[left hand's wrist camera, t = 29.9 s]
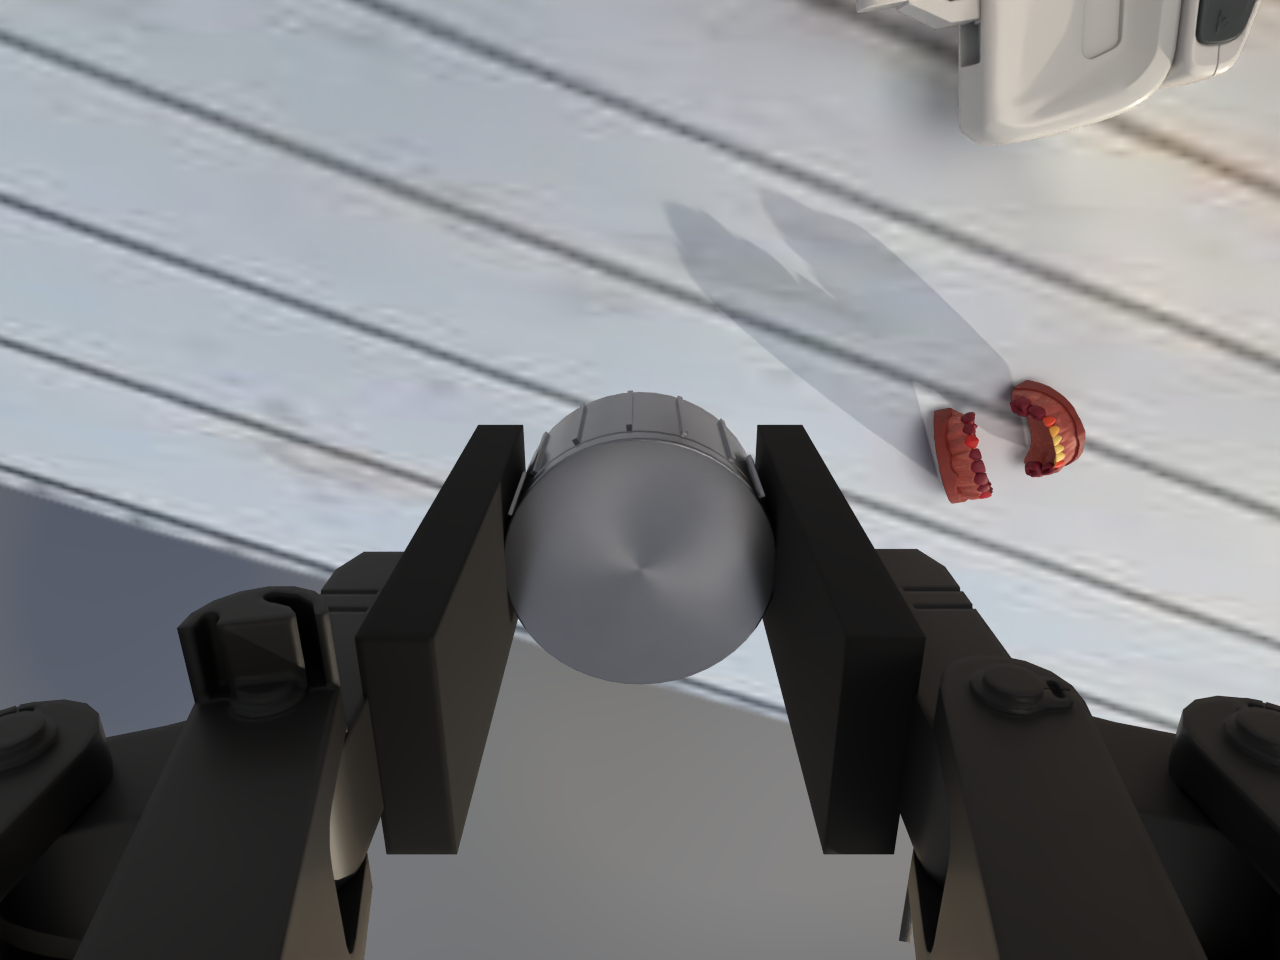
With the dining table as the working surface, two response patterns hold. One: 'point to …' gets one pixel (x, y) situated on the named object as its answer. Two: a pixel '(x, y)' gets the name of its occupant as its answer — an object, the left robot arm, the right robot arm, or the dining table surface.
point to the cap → (640, 540)
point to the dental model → (1050, 450)
